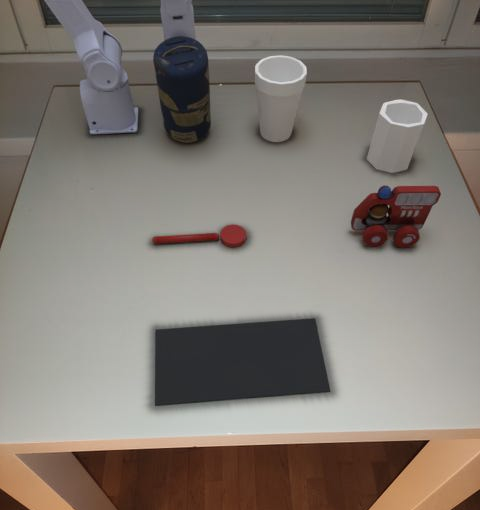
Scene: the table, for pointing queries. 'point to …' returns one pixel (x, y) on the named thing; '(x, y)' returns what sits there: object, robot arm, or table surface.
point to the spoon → (209, 237)
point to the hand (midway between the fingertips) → (186, 105)
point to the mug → (396, 135)
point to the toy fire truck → (394, 214)
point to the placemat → (238, 361)
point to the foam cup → (278, 95)
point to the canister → (183, 88)
